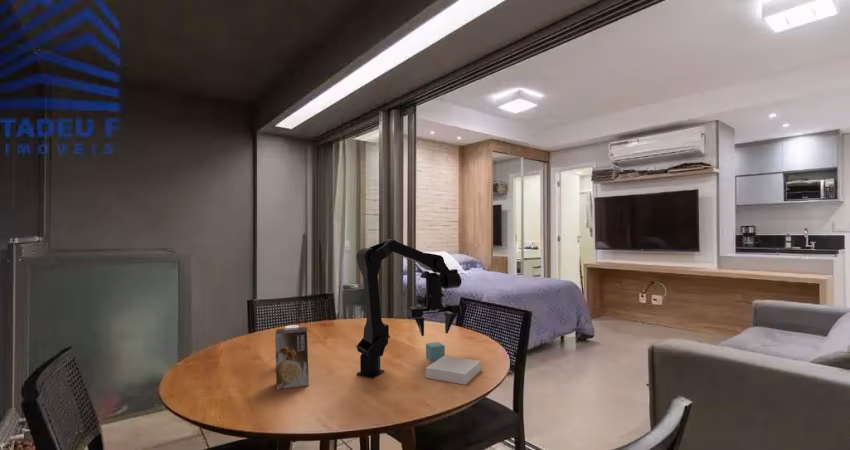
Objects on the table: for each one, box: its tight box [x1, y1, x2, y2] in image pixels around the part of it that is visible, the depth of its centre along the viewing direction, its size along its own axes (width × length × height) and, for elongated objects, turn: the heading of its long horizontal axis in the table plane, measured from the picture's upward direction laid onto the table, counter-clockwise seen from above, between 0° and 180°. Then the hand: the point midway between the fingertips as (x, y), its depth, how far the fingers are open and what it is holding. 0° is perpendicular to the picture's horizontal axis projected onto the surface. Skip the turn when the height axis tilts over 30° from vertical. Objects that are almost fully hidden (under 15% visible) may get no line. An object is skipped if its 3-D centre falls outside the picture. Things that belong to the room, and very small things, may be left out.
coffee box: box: [274, 326, 310, 390], centre depth 118 cm, size 9×6×16 cm
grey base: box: [425, 355, 482, 385], centre depth 123 cm, size 13×13×3 cm
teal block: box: [425, 341, 446, 363], centre depth 139 cm, size 5×5×5 cm
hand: (434, 334), depth 139 cm, fingers open, 9 cm apart
